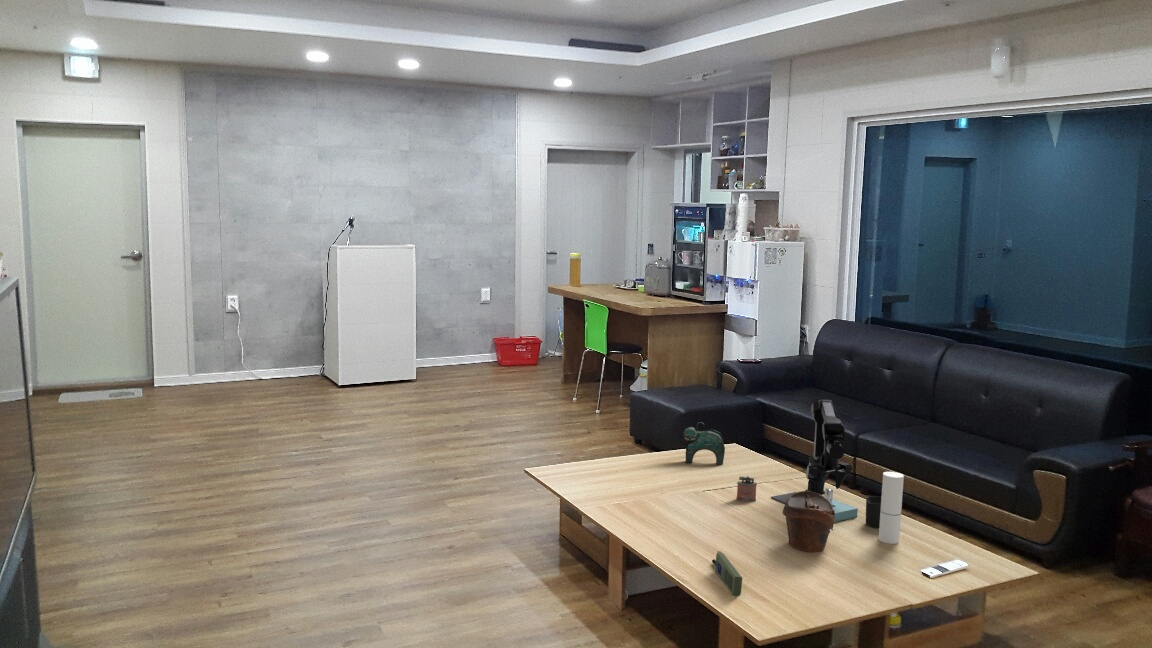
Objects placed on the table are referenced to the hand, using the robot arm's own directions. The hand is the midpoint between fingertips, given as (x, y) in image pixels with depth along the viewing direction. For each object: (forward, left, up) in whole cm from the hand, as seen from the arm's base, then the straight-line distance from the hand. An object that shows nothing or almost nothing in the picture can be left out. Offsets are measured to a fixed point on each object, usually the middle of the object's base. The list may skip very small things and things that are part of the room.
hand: (829, 490), depth 347 cm
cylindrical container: (+1, +31, -10) cm, 33 cm away
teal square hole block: (0, 0, -10) cm, 10 cm away
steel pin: (0, 0, -10) cm, 10 cm away
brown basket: (+32, +21, -10) cm, 39 cm away
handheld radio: (+78, +29, -10) cm, 84 cm away
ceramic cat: (0, -79, -10) cm, 80 cm away
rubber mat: (0, -18, -10) cm, 21 cm away
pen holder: (-8, +18, -10) cm, 22 cm away
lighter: (+18, -28, -10) cm, 35 cm away
